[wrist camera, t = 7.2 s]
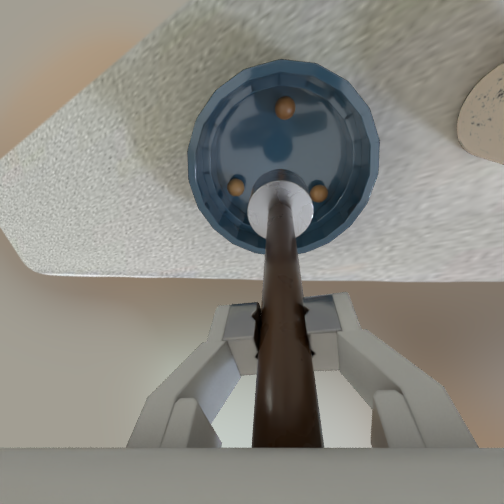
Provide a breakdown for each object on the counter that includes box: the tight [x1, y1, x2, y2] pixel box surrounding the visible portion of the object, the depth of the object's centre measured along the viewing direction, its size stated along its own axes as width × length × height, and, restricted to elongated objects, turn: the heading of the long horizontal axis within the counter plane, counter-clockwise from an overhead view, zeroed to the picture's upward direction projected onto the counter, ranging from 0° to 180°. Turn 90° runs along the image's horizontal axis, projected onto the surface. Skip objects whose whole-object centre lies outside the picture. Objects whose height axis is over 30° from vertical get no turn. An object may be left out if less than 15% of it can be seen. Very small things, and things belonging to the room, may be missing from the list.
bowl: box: [187, 59, 380, 254], centre depth 26 cm, size 18×18×6 cm
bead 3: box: [310, 185, 328, 203], centre depth 29 cm, size 2×2×2 cm
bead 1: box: [227, 179, 244, 196], centre depth 29 cm, size 2×2×2 cm
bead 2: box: [275, 96, 295, 120], centre depth 24 cm, size 2×2×2 cm
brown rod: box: [247, 169, 324, 448], centre depth 12 cm, size 4×4×18 cm
